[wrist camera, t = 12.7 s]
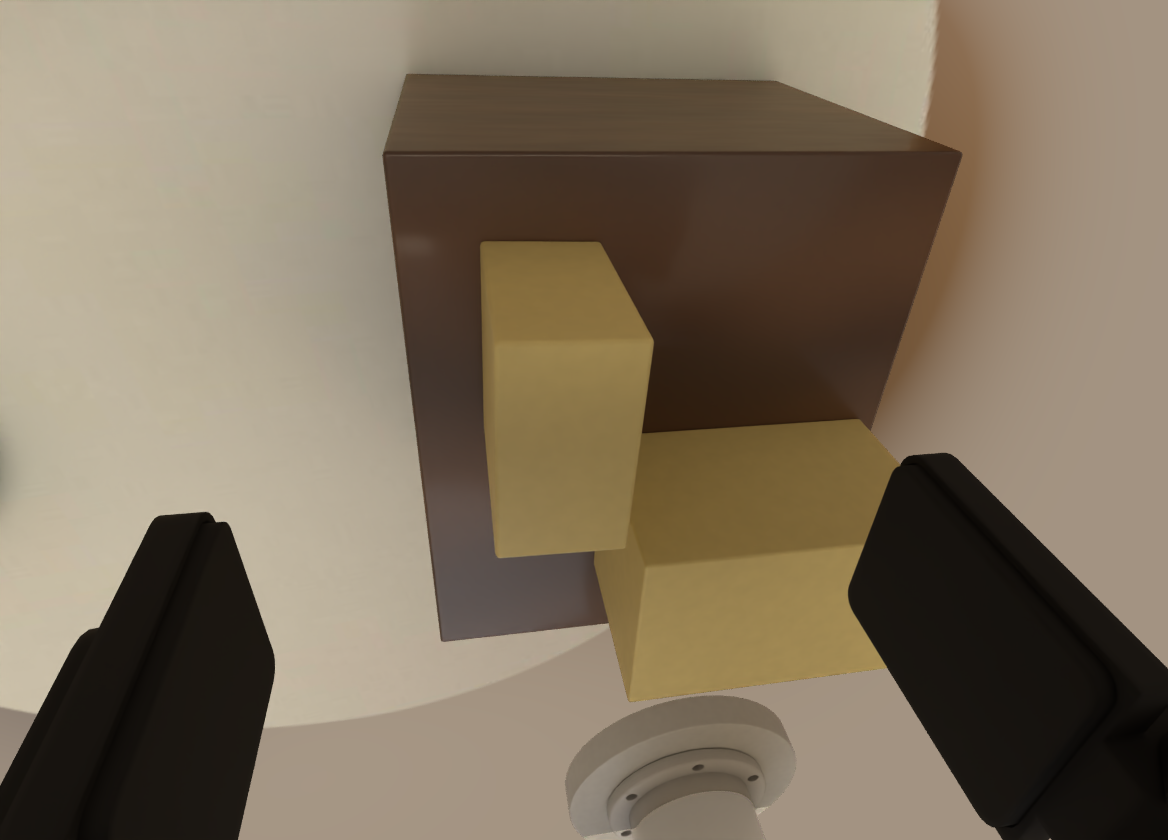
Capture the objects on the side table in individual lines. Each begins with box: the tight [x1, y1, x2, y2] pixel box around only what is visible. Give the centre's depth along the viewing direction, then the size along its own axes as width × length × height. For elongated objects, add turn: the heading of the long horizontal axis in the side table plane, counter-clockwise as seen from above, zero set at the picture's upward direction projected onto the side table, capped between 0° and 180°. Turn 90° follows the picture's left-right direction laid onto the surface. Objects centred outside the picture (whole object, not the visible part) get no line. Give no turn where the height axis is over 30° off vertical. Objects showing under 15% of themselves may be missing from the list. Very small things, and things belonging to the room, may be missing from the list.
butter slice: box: [480, 241, 654, 558], centre depth 13 cm, size 4×2×4 cm, turn 176°
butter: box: [594, 419, 900, 702], centre depth 17 cm, size 4×7×4 cm, turn 88°
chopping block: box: [382, 74, 962, 642], centre depth 21 cm, size 14×12×10 cm
